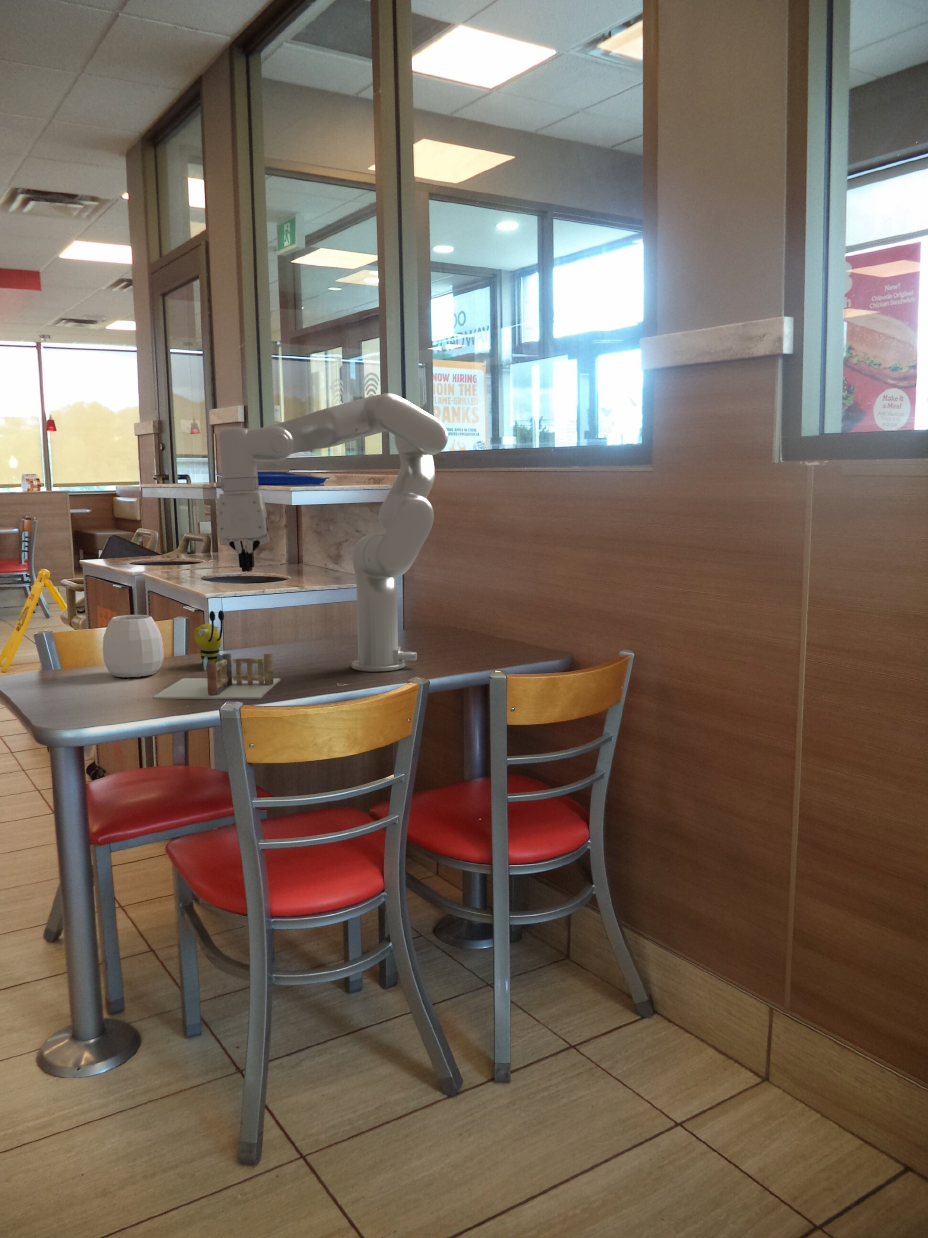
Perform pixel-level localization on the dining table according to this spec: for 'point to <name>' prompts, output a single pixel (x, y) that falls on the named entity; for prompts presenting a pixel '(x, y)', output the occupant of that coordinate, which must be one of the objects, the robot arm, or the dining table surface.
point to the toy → (210, 640)
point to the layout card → (199, 690)
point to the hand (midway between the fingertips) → (247, 570)
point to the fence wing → (216, 676)
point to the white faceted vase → (132, 646)
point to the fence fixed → (250, 670)
